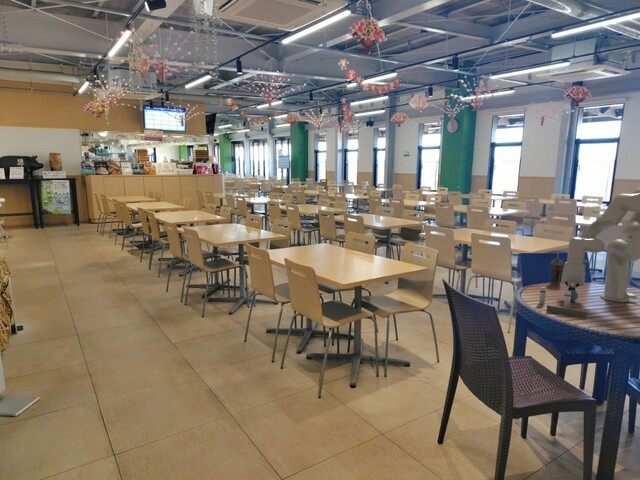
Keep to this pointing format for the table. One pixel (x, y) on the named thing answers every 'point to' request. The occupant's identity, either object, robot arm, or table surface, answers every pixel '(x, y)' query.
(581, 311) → the back wall
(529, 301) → the table surface
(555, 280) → the beverage cup
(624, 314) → the table surface
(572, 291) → the ball
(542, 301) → the grey pin
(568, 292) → the cream pin
